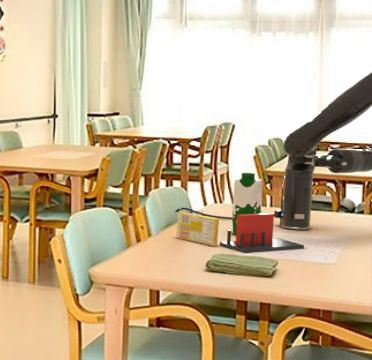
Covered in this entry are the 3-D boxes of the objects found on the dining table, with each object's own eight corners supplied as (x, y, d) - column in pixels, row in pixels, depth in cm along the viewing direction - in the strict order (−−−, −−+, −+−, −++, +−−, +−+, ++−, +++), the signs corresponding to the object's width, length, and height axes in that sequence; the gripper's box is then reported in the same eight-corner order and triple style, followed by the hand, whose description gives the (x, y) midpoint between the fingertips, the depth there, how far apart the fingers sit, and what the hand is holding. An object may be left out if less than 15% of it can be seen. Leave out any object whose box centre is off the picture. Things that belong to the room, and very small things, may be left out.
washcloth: (273, 278, 235) (274, 265, 234) (204, 271, 240) (204, 259, 240) (278, 268, 247) (279, 256, 246) (211, 262, 253) (212, 250, 252)
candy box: (218, 246, 277) (219, 218, 276) (213, 246, 276) (214, 219, 275) (180, 237, 290) (182, 211, 289) (175, 237, 289) (176, 211, 288)
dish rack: (219, 245, 278) (220, 228, 278) (277, 241, 288) (278, 225, 287) (244, 252, 267) (245, 235, 267) (303, 248, 277) (304, 231, 277)
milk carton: (230, 235, 296) (233, 173, 293) (233, 231, 304) (237, 170, 302) (258, 237, 293) (261, 175, 291) (261, 233, 301) (264, 172, 299)
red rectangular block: (235, 244, 274) (237, 214, 273) (267, 242, 280) (269, 212, 279) (240, 245, 273) (241, 215, 271) (272, 243, 278) (274, 214, 277)
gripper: (330, 146, 294) (290, 146, 287) (363, 151, 281) (322, 151, 274) (328, 170, 295) (288, 170, 288) (361, 175, 282) (320, 176, 275)
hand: (305, 161), depth 281 cm, fingers open, 8 cm apart
